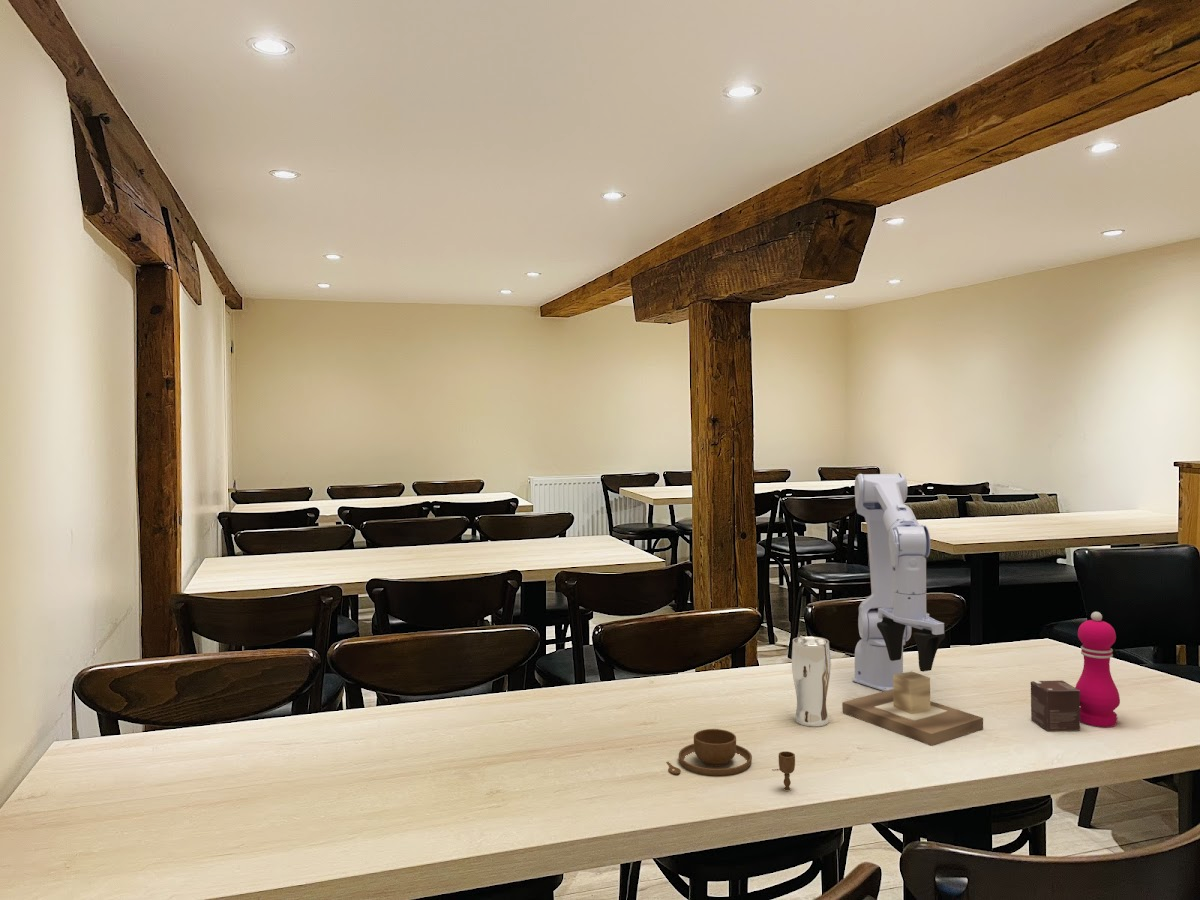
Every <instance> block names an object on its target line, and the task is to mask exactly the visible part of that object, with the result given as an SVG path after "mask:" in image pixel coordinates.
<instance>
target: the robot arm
mask: <svg viewBox="0 0 1200 900" xmlns="http://www.w3.org/2000/svg"><path fill="white" fill-rule="evenodd" d="M907 498H908V481H907V477H906V476H905V475H904V473H902V472H900V473H887V474H886V473H873V474H871V473H870V474H868V473H867V474H862V473H858V474H857V475H856V477H855V480H854V501H855V510H856V513H857V515H860V516H862V517H864V520H865V524H866V527H867V528H866V529H867V543H868V544H867V545H868V557H869V558H868V559H869V576H870V589H871V594H870V595H868V596H867V597H866V598H865V599H864V600H863V601H861V602H860V604H859V606H858V619H857V622H858V623H857V626H858V633H859V637H860V638H861V639H859V640H858V641H857V643H856V645H855V649H854V678H852V679H851V680H852V682H855V683H858V684H860V685H864V686H867V687H870V688H874V689H876V690H879V691H881V692H883V691H887V690H891V689H893V675H894V674H900V673H904V646H906V642H908V641H909V640H910V639H911V636H913V638H914V640H915V644H916V648H917V653H918V654H917V655H918V667H919V671H920V672H922V673H923V672H928V671H932V667H933V666H934V665H933V664H934V660H935V658H936V654H937V651H938V649H939V647H940V645H941V643H942V642H943V640H944V639H945V637H946V633H945V622H942V621H939V620H937V619H935V618H933V617H931V616H930V613H928V612H927V558H928V557H929V556H930V553H931V535H930V534H931V533H930V531H929V528H928V526H927V525H925V524H920V523H919V522H918V520H917V517H916V516H915V514H914V512H913V509H911V507H910V506H908V505H907V504H905V502H906V500H907ZM875 609H877V610H875ZM912 628H913V629H914V628H915V629H918V630H921V631H917V632H916V631H915V632H913V633H912Z"/></svg>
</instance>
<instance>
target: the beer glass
mask: <svg viewBox="0 0 1200 900" xmlns="http://www.w3.org/2000/svg"><path fill="white" fill-rule="evenodd" d="M791 646H792V647H791V648H792V649H791V673H792V679H793V682H794V685H793V686H794V688H795V695H796V710H795V715H794V720H795V722H796V723H797V724H799V725H801V726H806V727H811V728H815V727H817V728H819V727H824V726H827V725H828V724H829V721H830V720H829V719H830V718H829V715H828V714H829V713H828V710H827V709H828V708H827V696H828V689H829V684H830V680H831V679H830V677H831V668H832V667H831V665H832V664H831V651H830V650H831V649H830V641H829V640H828V639H827V638H824V637H819V636H812V635H811V636H798V637H795V638H793V639H792V645H791ZM826 724H827V725H826Z"/></svg>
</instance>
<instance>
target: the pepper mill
mask: <svg viewBox="0 0 1200 900" xmlns="http://www.w3.org/2000/svg"><path fill="white" fill-rule="evenodd" d="M1090 618H1091V619H1088V620H1084V622H1082V623H1081V624H1080V625H1079V627H1078V629H1077V637H1078V640H1079V641H1080V642H1081V644H1082V645H1080V649H1081V651H1080V654H1081V655H1083V656H1082V657H1083V668H1082V671H1081V674H1080V677H1079V679H1078V680H1077V682H1076V685H1075V686H1074V687H1075V688H1076V689H1078V690H1080V723H1082V724H1084V723H1085V724H1084V725H1087V724H1088V726H1091V725H1092V726H1093V727H1097V726H1099V727H1098V728H1110V727H1111V726H1112V727H1115V726H1116V725H1118V724H1117V723H1118V720H1117V719H1118V717H1117V716H1118V715H1117V713H1116V712H1115V710H1116V709H1117V708H1118V707H1119V706H1120V703H1121V699H1120V698H1121V697H1120V692H1119V690H1118V688H1117V686H1116V684H1115V682H1114V680H1113V677H1112V673H1111V669H1110V667H1111V665H1110V663H1111V658H1113V657H1114V654H1113V651H1114V650H1113V648H1112V646H1113V645H1114V644H1115V643H1116V639H1117V635H1116V634H1117V633H1116V631H1115V628H1114V627H1113V626H1112V625H1111V624H1110V623H1108V622H1106V621H1104V620H1102V619H1103V614H1101V612H1099V611H1093V612H1092V613H1091V615H1090Z"/></svg>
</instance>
